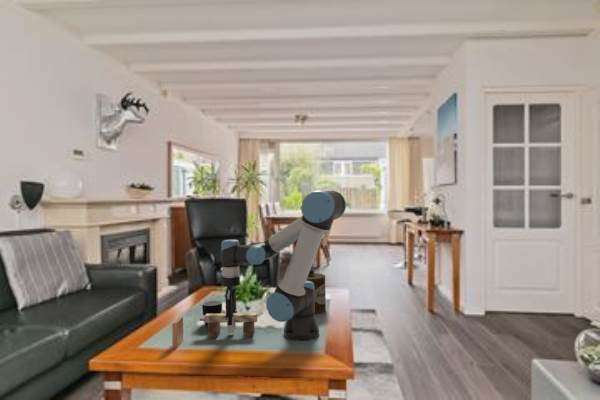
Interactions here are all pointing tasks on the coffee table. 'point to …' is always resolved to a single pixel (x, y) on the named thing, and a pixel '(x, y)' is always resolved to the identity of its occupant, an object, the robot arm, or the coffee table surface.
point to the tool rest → (215, 330)
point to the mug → (211, 308)
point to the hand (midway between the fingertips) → (231, 330)
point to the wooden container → (318, 290)
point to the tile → (177, 332)
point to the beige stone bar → (221, 317)
